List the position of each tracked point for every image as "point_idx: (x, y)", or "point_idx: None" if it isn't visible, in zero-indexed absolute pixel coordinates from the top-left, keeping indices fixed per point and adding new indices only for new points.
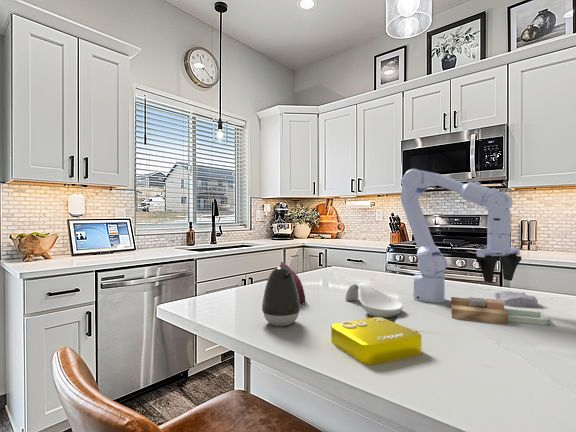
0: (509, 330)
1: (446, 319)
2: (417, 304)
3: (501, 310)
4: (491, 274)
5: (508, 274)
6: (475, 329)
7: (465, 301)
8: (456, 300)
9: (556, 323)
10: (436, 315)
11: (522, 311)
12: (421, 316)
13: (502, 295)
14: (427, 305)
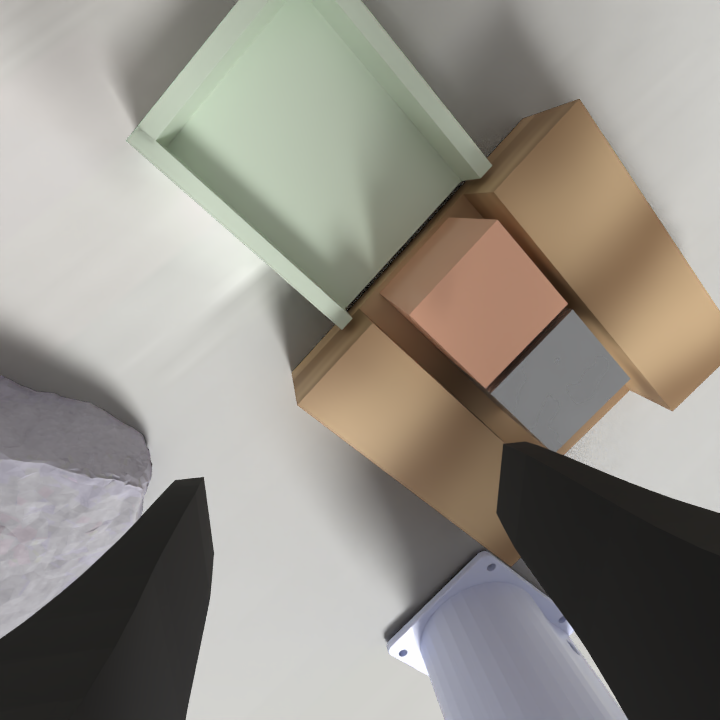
0: (555, 80)
1: None
2: None
3: (527, 197)
4: (606, 474)
5: (193, 555)
6: (690, 175)
7: None
8: None
9: (99, 45)
10: (645, 430)
11: (257, 232)
12: (713, 434)
13: (34, 603)
14: (539, 584)
